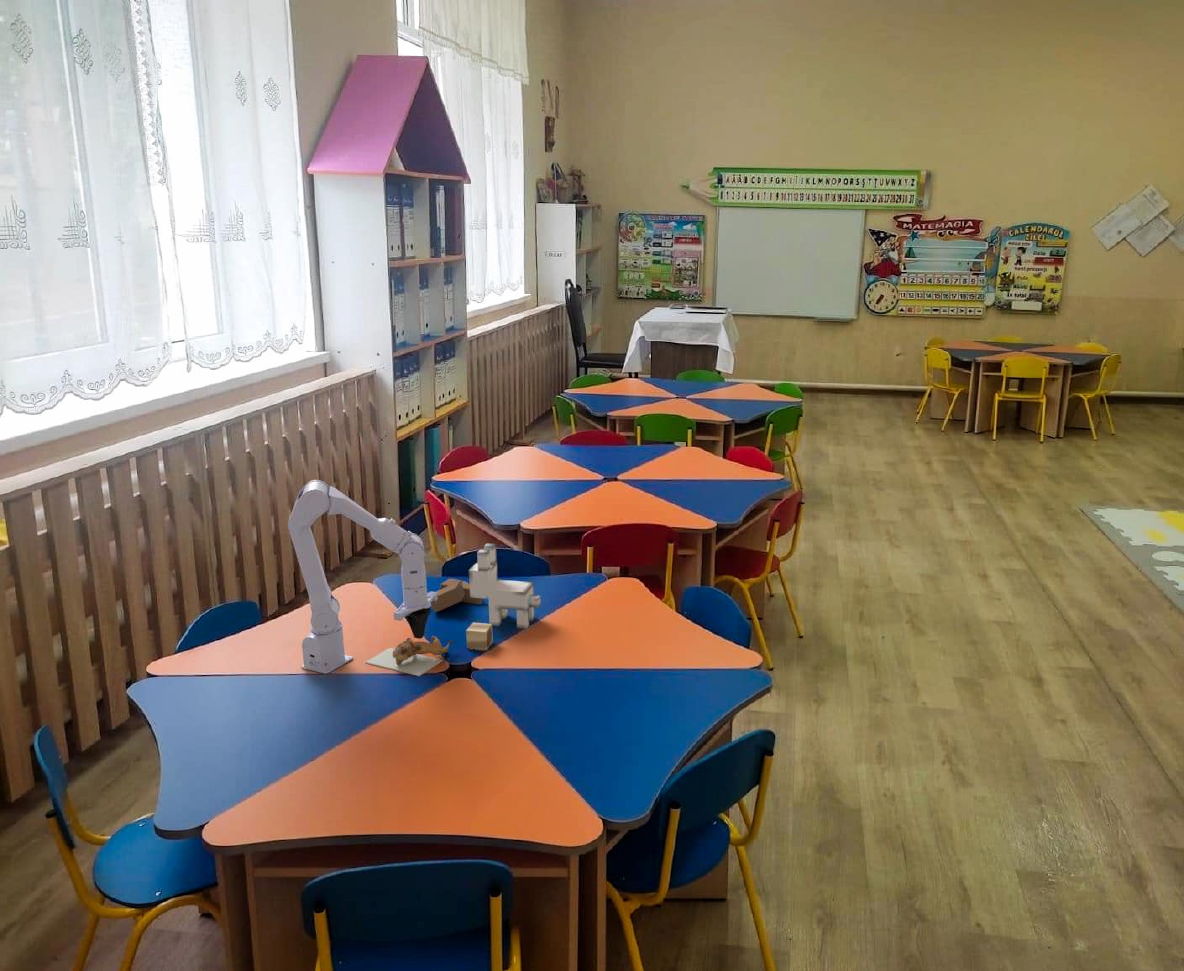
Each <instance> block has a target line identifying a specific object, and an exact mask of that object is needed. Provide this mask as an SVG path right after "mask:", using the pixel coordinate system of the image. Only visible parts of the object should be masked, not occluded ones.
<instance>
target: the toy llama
mask: <svg viewBox="0 0 1184 971" xmlns="http://www.w3.org/2000/svg"><path fill="white" fill-rule="evenodd" d="M476 555H477V562H476V563H474V564H473V565H472V566H471V567H470V568H469V569H468V578H469V579H468V580H469V584H470V597H472V598H482V599H487V600H488V616H489V618H488V621H489V624H492V627H500V626H501V624H503V620H506V619H507V617H508V616H509V612H508V610H512V611H516V629H525V630H527V629H528V627H529V626H530V622H533V621H534V620H535V617H536V616H535V615H536V613H535V612H536V611H535V609H538V608H539V607H540V606H541V595H540V594H535V585H534V584H535V583H534V581H533V582H532V581H519V580H507V579H498V559H497V543H491V542H490V543H489V542H488V543H485V545H484V546H483V548H482V549H479V550H478V551H477V552H476Z"/></svg>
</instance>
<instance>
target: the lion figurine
mask: <svg viewBox="0 0 1184 971" xmlns="http://www.w3.org/2000/svg"><path fill="white" fill-rule="evenodd" d="M431 641H433V642H432V643H431V642H426V641H414V640H412V638H411V637H407V638H406V640H404V641H402V642H400V643H399V644H398V645H397V646H395V648H394V649H395V650H393V655H392V656H393V658H395V659H396V664H397V665H398V666H400V665H401V664H402V662H403V661H404V660H407V659H408V658H410V657H411V656H413V655H415V654H419V655H427V654H432V655H434V656H440V655H442V654H446V653H448V651H449V650H448V649H449V647H450V645H451V644H454V642H455V641H454V640H450V641H449V642H448V643H447V645H446V646H445V647H443V644H442V643H441V641H440V639H438V637H437V636H435V635H432V636H431Z"/></svg>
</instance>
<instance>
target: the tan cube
mask: <svg viewBox="0 0 1184 971" xmlns="http://www.w3.org/2000/svg"><path fill="white" fill-rule="evenodd" d="M465 636H466V637H465V638H466V649H467V648H469V649H468V650H473V649H475V651H485V650H486V651H487V650H488V649H489V648H490V647H491V646H492V644H493V643H494V640H493V639H494V637H493V636H494V635H493V626H492V624H490V623H485V622H483V623H482V622H472V623H471V624H470V625H469V626H468V627H467V629H466V630H465ZM489 646H490V647H489Z"/></svg>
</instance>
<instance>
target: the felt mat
mask: <svg viewBox="0 0 1184 971" xmlns="http://www.w3.org/2000/svg"><path fill="white" fill-rule="evenodd" d="M393 650H395V648H393V647H388V648H387V649H384V650H383V651H381V652H380V653H378V654H376V655H375V656H373V657H372V658H370V659H368V660H366V661H365V664H367V665H371V666H376V667H379V668H383V669H387V670H391V671H397V672H400V673H405V674H408V675H413V676H416V677H421V676H422V675H424V674H426V673H427V672H428V671H430V670H431V669H433V668H434V667H436V666H437V665H439V664H441V663H442V662H443V659H439V658H437V657H436V658H435V657H431V656H426V655H424V654H415V655H413V656H411V657H410V658H408V659H407V660H404V661H403V662H402V664H401V665H400V666H398V665H397V664H396V659H395V658H393V656H392V655H393ZM441 661H442V662H441ZM440 662H441V663H440Z"/></svg>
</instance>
